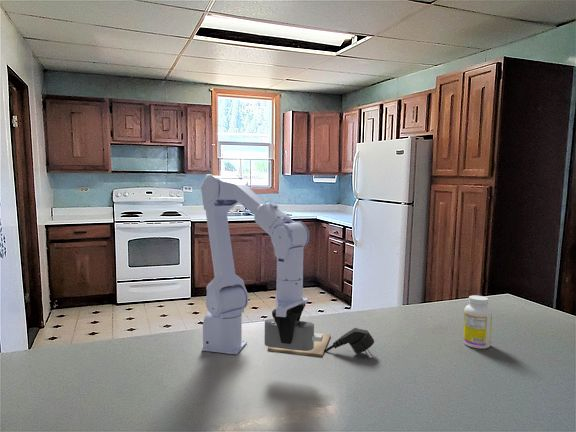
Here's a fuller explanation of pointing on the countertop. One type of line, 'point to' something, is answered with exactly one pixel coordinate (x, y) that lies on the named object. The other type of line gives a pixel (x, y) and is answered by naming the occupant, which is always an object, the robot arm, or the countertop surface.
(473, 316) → the supplement bottle
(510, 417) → the countertop surface
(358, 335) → the power plug
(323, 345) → the oak board
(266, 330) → the grey capsule with tab
